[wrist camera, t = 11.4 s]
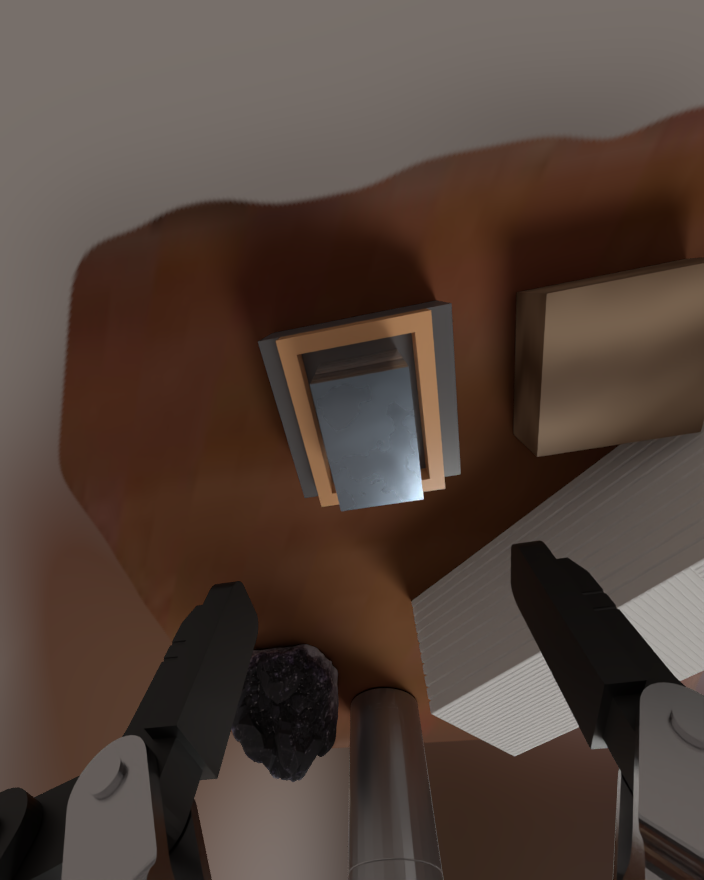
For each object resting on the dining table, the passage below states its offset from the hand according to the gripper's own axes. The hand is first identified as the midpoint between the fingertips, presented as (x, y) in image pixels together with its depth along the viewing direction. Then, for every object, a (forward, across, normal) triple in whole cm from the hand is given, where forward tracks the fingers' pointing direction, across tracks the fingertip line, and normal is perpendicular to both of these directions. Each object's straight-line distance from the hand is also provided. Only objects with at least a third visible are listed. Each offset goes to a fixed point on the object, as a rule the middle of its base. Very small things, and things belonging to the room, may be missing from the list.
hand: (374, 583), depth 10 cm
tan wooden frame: (+18, 0, 0) cm, 18 cm away
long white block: (+19, -17, +18) cm, 31 cm away
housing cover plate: (+11, 0, 0) cm, 11 cm away
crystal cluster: (+19, +16, +34) cm, 42 cm away
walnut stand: (+18, -17, 0) cm, 25 cm away
